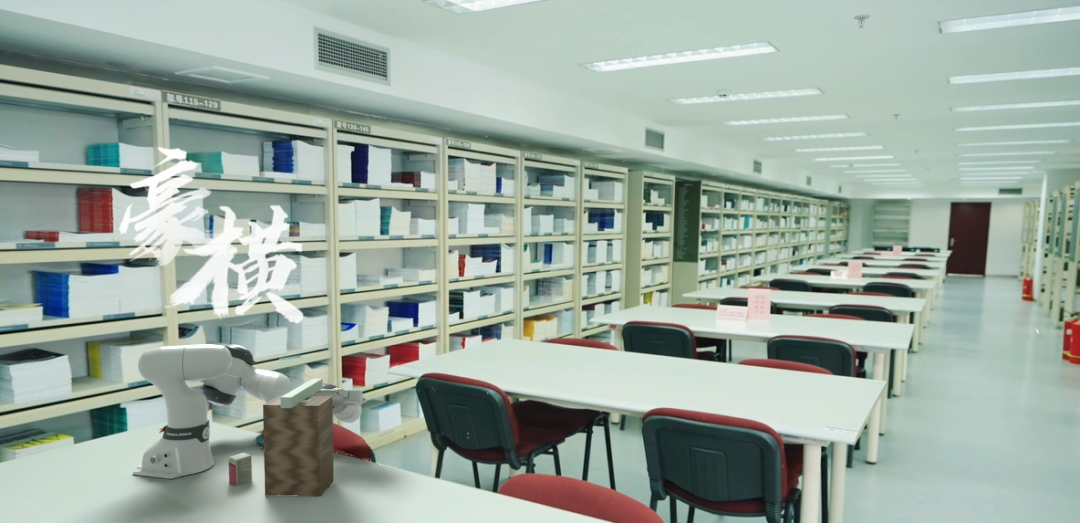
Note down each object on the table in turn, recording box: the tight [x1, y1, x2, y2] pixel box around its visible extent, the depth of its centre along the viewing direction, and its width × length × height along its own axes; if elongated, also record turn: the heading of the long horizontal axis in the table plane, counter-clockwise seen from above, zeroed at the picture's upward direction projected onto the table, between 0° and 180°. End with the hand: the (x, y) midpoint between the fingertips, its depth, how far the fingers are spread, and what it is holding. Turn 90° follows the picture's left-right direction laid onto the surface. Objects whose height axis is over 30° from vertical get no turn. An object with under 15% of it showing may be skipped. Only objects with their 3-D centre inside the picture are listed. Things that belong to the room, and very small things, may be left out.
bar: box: [280, 378, 323, 408], centre depth 185 cm, size 3×22×3 cm, turn 177°
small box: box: [227, 452, 253, 487], centre depth 189 cm, size 5×4×8 cm
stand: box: [262, 395, 335, 497], centre depth 183 cm, size 16×10×26 cm, turn 87°
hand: (323, 390), depth 199 cm, fingers open, 8 cm apart
